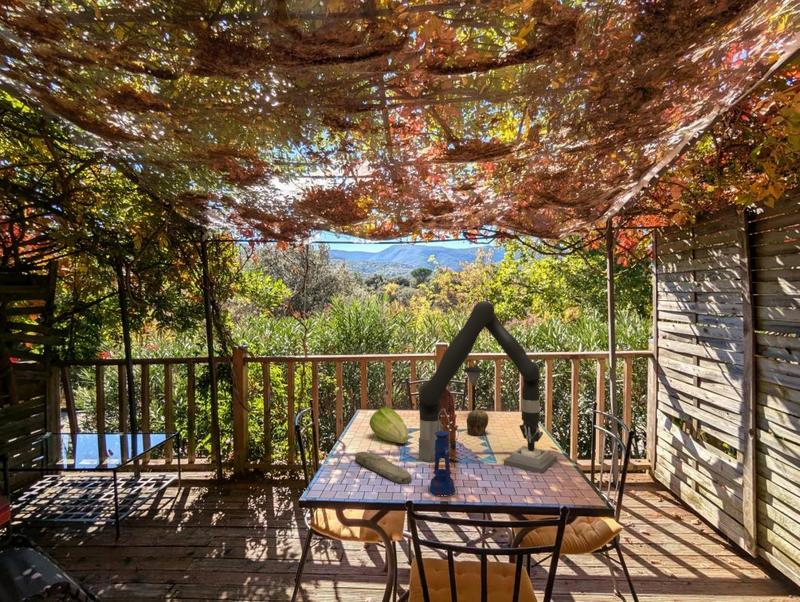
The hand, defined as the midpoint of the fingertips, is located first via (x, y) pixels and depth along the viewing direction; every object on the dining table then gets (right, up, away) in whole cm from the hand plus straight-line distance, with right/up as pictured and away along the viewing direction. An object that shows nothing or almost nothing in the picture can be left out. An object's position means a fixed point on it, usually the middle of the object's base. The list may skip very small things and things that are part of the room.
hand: (531, 450), depth 193 cm
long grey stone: (-63, -6, -7) cm, 64 cm away
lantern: (-40, -6, -27) cm, 49 cm away
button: (0, -3, 0) cm, 3 cm away
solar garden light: (-14, -4, +64) cm, 65 cm away
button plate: (0, -5, 0) cm, 5 cm away
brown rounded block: (-16, -5, +40) cm, 43 cm away
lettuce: (-60, -5, +32) cm, 68 cm away
